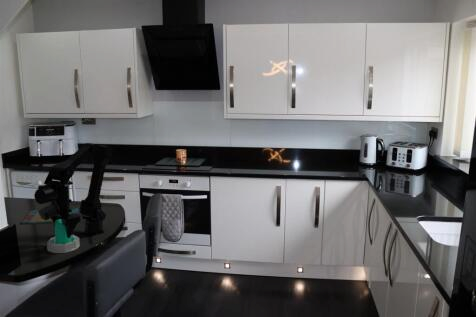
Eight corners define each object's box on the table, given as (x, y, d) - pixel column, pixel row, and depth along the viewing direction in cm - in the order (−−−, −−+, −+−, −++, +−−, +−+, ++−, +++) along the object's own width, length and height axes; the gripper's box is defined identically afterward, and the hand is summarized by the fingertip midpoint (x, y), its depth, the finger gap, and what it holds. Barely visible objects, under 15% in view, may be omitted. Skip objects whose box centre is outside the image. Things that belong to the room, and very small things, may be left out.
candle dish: (70, 238, 168) (70, 232, 167) (85, 246, 160) (85, 239, 160) (41, 246, 159) (41, 239, 158) (56, 255, 151) (55, 248, 151)
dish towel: (75, 223, 188) (75, 218, 188) (20, 225, 182) (20, 220, 182) (79, 211, 204) (79, 207, 204) (30, 214, 198) (29, 209, 198)
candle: (51, 247, 157) (51, 218, 155) (63, 241, 163) (62, 214, 161) (63, 249, 155) (62, 220, 153) (74, 244, 161) (74, 216, 159)
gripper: (29, 196, 155) (32, 233, 158) (52, 206, 144) (54, 247, 147) (57, 191, 164) (59, 227, 167) (80, 200, 152) (82, 239, 155)
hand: (63, 234), depth 159 cm, fingers open, 9 cm apart
